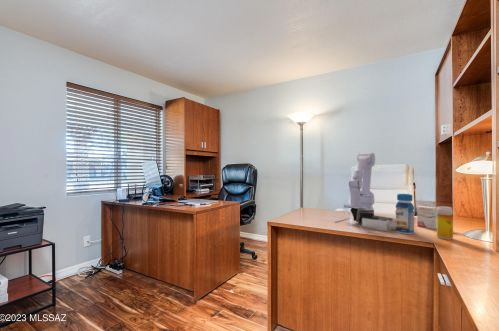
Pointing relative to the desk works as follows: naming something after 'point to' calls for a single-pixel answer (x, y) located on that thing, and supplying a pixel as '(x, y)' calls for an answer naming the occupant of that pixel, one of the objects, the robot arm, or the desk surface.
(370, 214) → the electrical switch
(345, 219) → the long thin gray rod
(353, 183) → the robot arm
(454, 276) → the desk surface
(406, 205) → the blue pill bottle
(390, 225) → the bracket
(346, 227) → the desk surface
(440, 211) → the white lidded yellow container
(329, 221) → the desk surface
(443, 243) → the desk surface
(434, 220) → the ink cartridge box
